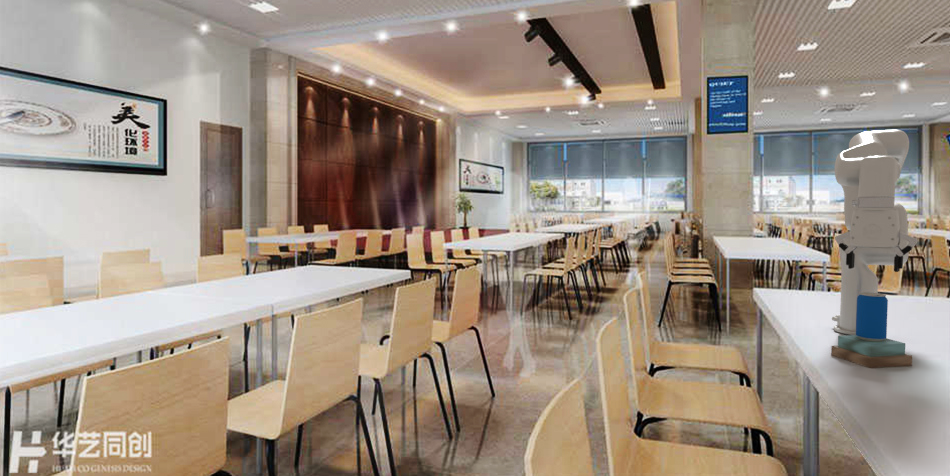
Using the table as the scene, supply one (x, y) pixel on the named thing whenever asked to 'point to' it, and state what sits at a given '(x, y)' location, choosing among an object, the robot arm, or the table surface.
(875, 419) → the table surface
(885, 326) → the beverage can
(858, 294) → the robot arm
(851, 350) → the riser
